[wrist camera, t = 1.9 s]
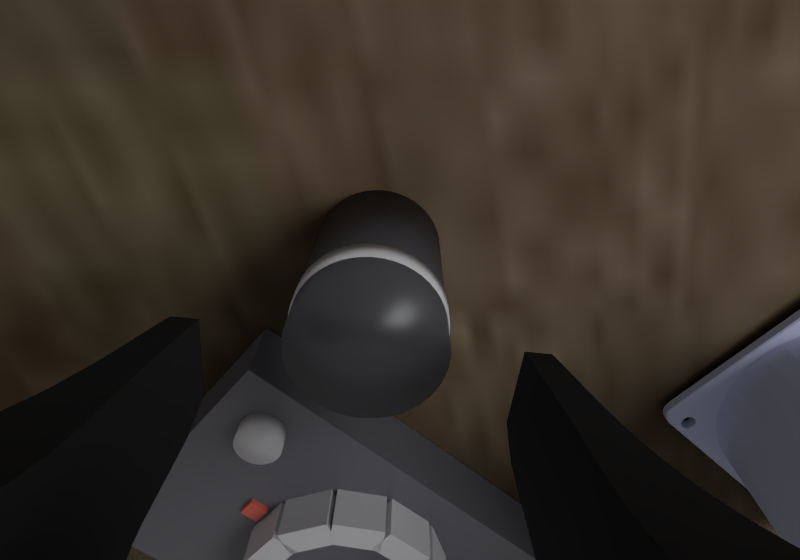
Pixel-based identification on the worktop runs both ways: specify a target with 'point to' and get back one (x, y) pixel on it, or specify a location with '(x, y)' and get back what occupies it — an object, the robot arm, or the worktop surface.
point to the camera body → (318, 483)
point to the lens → (370, 310)
